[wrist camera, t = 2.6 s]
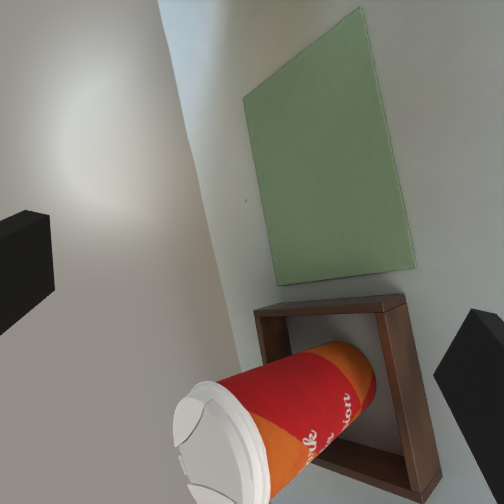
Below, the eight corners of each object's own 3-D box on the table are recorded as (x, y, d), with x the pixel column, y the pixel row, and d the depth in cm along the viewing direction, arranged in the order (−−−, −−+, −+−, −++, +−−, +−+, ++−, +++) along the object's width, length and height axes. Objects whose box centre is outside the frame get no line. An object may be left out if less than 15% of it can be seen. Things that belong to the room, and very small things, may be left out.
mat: (244, 99, 36) (242, 98, 36) (362, 7, 26) (360, 6, 26) (279, 285, 35) (277, 285, 35) (417, 267, 25) (415, 267, 24)
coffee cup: (335, 431, 31) (198, 536, 21) (294, 346, 34) (156, 405, 24) (412, 411, 26) (276, 541, 16) (356, 312, 29) (210, 370, 19)
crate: (277, 303, 35) (252, 310, 33) (404, 293, 26) (382, 302, 23) (301, 434, 35) (278, 451, 32) (443, 476, 25) (423, 505, 22)
